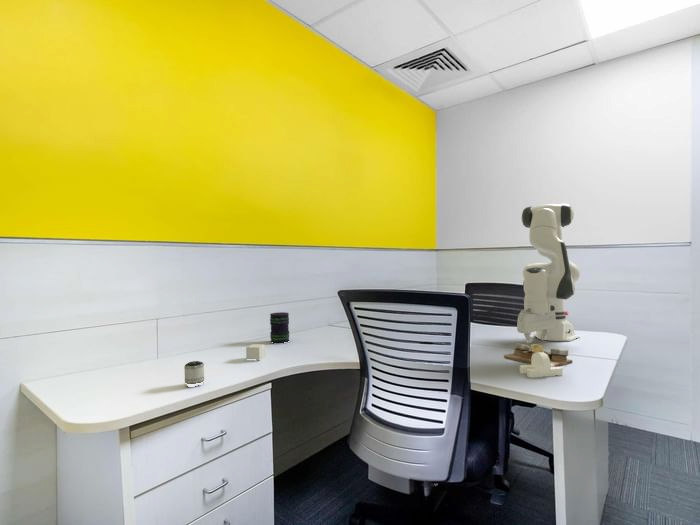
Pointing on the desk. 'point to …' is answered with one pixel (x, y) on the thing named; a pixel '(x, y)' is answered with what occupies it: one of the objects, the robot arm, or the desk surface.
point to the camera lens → (194, 372)
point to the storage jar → (279, 327)
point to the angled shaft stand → (559, 354)
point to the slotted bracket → (540, 366)
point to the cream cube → (255, 351)
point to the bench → (530, 355)
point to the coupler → (536, 348)
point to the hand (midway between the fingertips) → (536, 341)
